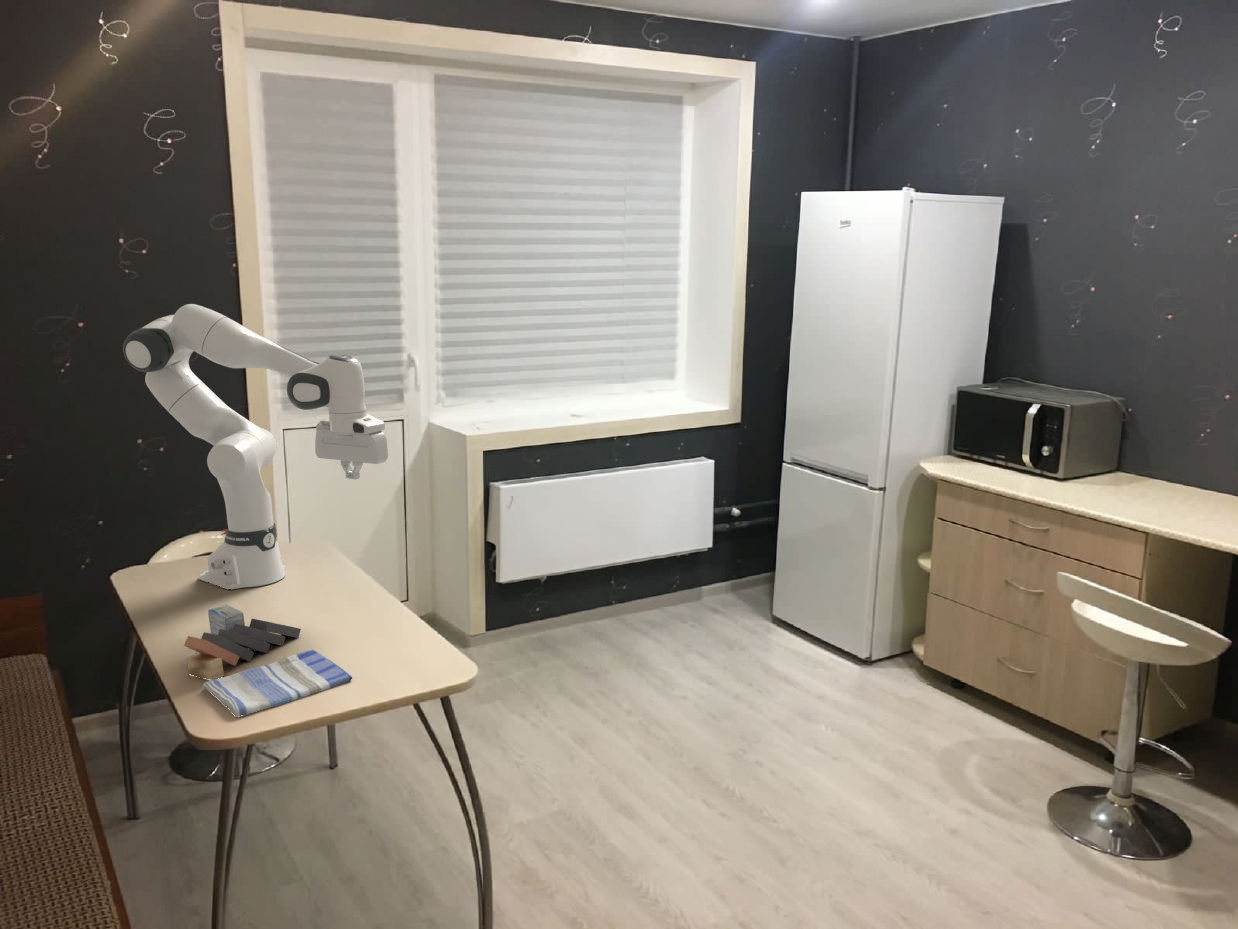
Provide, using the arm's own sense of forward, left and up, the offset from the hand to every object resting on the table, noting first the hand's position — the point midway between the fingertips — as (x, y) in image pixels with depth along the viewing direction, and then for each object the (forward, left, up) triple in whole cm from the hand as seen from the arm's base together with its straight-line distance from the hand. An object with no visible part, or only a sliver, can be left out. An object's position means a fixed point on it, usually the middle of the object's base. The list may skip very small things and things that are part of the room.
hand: (352, 478), depth 235 cm
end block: (+5, -52, -29) cm, 60 cm away
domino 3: (+5, -38, -28) cm, 48 cm away
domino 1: (+5, -46, -28) cm, 54 cm away
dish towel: (+22, -49, -30) cm, 61 cm away
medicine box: (-2, -40, -29) cm, 49 cm away
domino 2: (+5, -42, -28) cm, 51 cm away
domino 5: (+5, -29, -28) cm, 41 cm away
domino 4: (+5, -34, -28) cm, 44 cm away
